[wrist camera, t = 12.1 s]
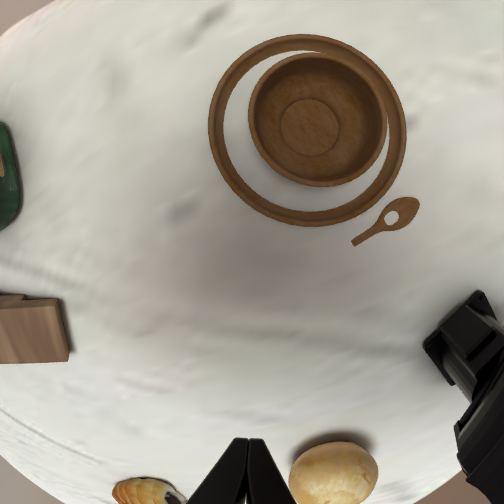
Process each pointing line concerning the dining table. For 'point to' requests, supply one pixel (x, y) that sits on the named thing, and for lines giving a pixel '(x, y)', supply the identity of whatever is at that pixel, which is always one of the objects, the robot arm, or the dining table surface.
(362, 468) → the onion
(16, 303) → the domino
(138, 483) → the pastry
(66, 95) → the dining table surface
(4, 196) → the coffee jar
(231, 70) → the place setting
